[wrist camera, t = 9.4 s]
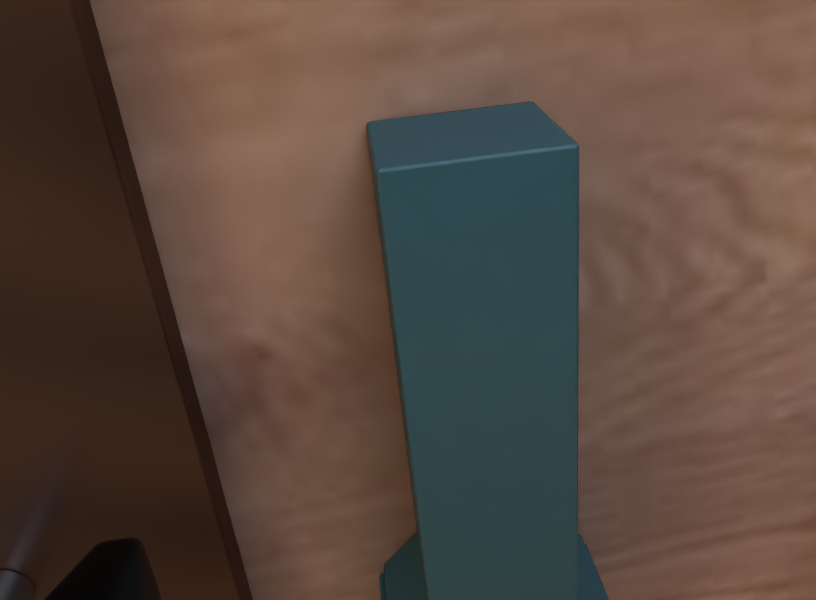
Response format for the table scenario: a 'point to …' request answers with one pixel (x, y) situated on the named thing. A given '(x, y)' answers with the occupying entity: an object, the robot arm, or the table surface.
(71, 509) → the brown peg board
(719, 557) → the table surface
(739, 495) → the table surface
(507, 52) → the table surface
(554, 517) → the teal ring spanner
